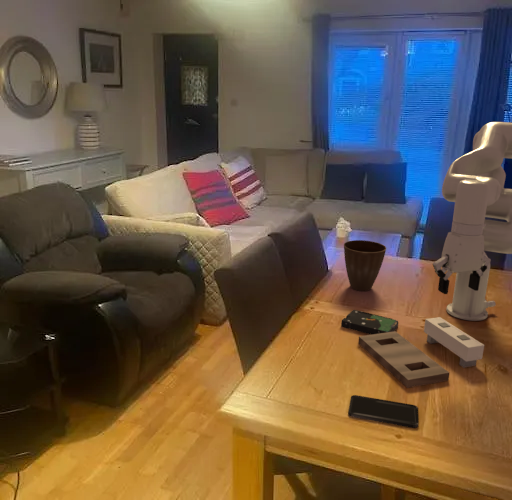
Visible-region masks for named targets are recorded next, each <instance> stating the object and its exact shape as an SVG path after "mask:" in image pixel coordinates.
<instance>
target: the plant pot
mask: <svg viewBox="0 0 512 500" xmlns="http://www.w3.org/2000/svg"><path fill="white" fill-rule="evenodd" d="M386 251H387V247H386V245H384V244H382V243H380V242H377V241H376V242H375V241H372V240H364V239H362V240H361V239H356V240H354V239H353V240H349V241H345V242H344V243H343V254H344V263H345V269H346V275H347V278H348V282H349V285H350V288H351V289H352V290H355V291H359V292H366V291H367V292H368V291H370V290H371V289H372V288H373V286H374V284H375V283H376V279H377V277H378V275H379V272H380V270H381V267H382V264H383V261H384V259H385V255H386Z"/></svg>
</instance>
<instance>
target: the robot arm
mask: <svg viewBox="0 0 512 500" xmlns="http://www.w3.org/2000/svg"><path fill="white" fill-rule="evenodd" d="M504 159H512V122H509V121H508V122H507V121H491V122H488V123H486V124H484V125H482V127H481V128H480V130H479V131H478V132H476V133H475V135H474V137H473V141H472V151H469V152H468V153H465V154H464V155H462V156H460V157H458V158H456V159H455V160H454V161H453V162H452V163H451V164H450V166H449V167H448V170H447V171H446V174H445V176H444V180H443V183H442V187H441V194H442V196H443V198H444V200H445V201H447V202H449V203H450V202H453V203H454V207H453V209H454V210H453V217H452V223H451V230H450V231H449V232H447V235H446V237H445V241H444V244H443V248H442V252H441V258H439V259H437V260H435V261H434V262H433V263H432V266H433V269H434V272H435V274H436V275H437V277H438V278H439V280H438V287H437V288H438V290H437V291H439V292H440V293H442V294H443V295H448V293H449V288H450V280H449V278H450V277H451V276H452V274H453V273H456V275H455V282H454V289H453V296H452V303H451V302H450V303H449V304H447V306H446V312H447V313H448V314H449V315H450V316H452V317H454V318H456V319H461V320H463V321H464V320H465V321H471V322H472V321H473V322H478V321H484V320H486V319H487V318H488V315H489V313H488V311H487V309H488V308H493V307H496V306H497V305H496V301H495V300H488V301H487V299H486V296H487V295H486V294H487V290H488V289H487V288H488V282H489V276H490V271H491V261H492V260H491V258H490V257H488V255H487V253H486V252H492V253H499V254H508V255H512V188H505V183H506V182H505V181H506V178H507V177H506V176H507V174H506V172H505V170H504V168H503V166H502V164H503V162H504ZM486 218H492V219H499V220H505V221H499V220H492V219H486Z"/></svg>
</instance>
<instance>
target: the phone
mask: <svg viewBox="0 0 512 500" xmlns="http://www.w3.org/2000/svg"><path fill="white" fill-rule="evenodd" d="M347 410H348V411H347V413H348V417H350V418H351V417H352V418H356V419H361V420H367V421H370V422H371V421H372V422H378V423H383V424H387V425H388V424H389V425H394V426H400V427H406V428H411V429H417V428H418V427H419V423H420V422H419V419H420V418H419V416H420V415H419V407H418V406H417V405H415V404H410V403H405V402H404V403H403V402H398V401H393V400H392V401H391V400H387V399H381V398H375V397H369V396H361V395H357V394H354V395H351V397H350V400H349V405H348V409H347Z"/></svg>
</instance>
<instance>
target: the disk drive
mask: <svg viewBox="0 0 512 500" xmlns="http://www.w3.org/2000/svg"><path fill="white" fill-rule="evenodd" d="M340 324H341V325H340V328H344V329H348V330H352V331H356V332H360V333H363V334H367V335H373V334H380V333H387V332H394V331H396V330H397V329H398V327H399V320H398V319H397V320H396V319H393V318H391V317H386V316H382V315H379V314H378V315H377V314H373V313H369V312H365V311H361V310H358V309H352V310H351V311H350V312H349V313H348V314H347V315H346V317H344V318H343V319H341V323H340Z"/></svg>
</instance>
